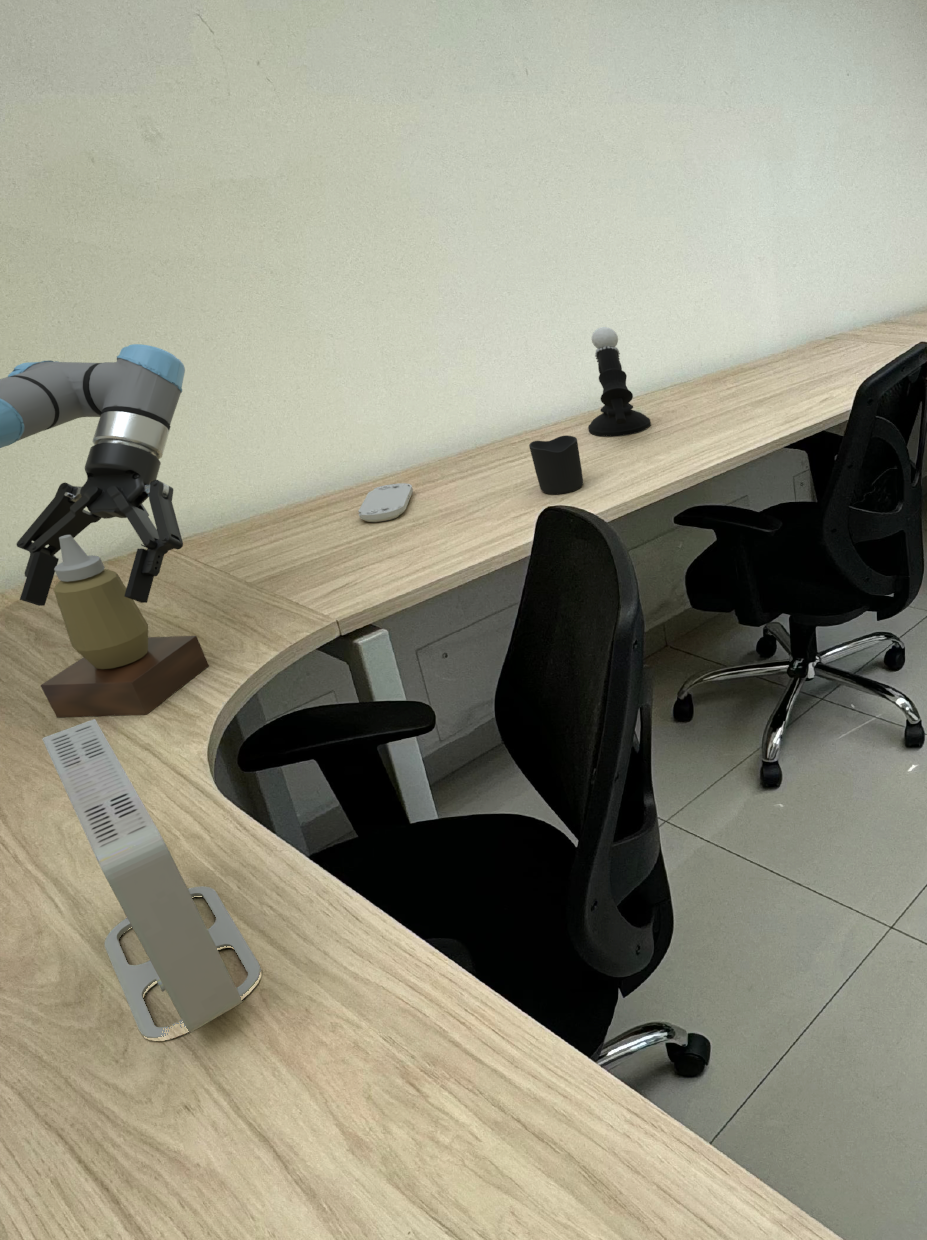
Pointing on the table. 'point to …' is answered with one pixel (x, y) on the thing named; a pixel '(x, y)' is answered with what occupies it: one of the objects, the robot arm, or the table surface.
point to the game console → (385, 502)
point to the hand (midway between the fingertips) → (83, 601)
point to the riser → (127, 681)
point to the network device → (148, 890)
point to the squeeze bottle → (98, 610)
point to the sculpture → (614, 391)
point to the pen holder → (557, 464)
